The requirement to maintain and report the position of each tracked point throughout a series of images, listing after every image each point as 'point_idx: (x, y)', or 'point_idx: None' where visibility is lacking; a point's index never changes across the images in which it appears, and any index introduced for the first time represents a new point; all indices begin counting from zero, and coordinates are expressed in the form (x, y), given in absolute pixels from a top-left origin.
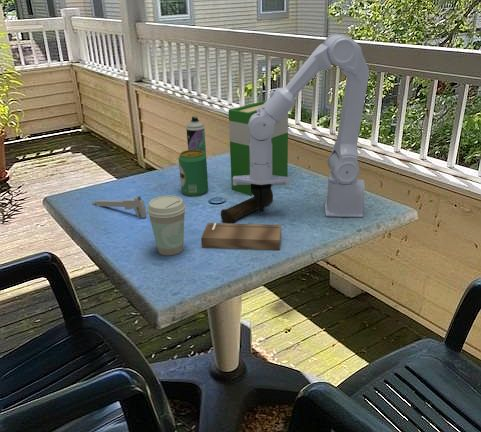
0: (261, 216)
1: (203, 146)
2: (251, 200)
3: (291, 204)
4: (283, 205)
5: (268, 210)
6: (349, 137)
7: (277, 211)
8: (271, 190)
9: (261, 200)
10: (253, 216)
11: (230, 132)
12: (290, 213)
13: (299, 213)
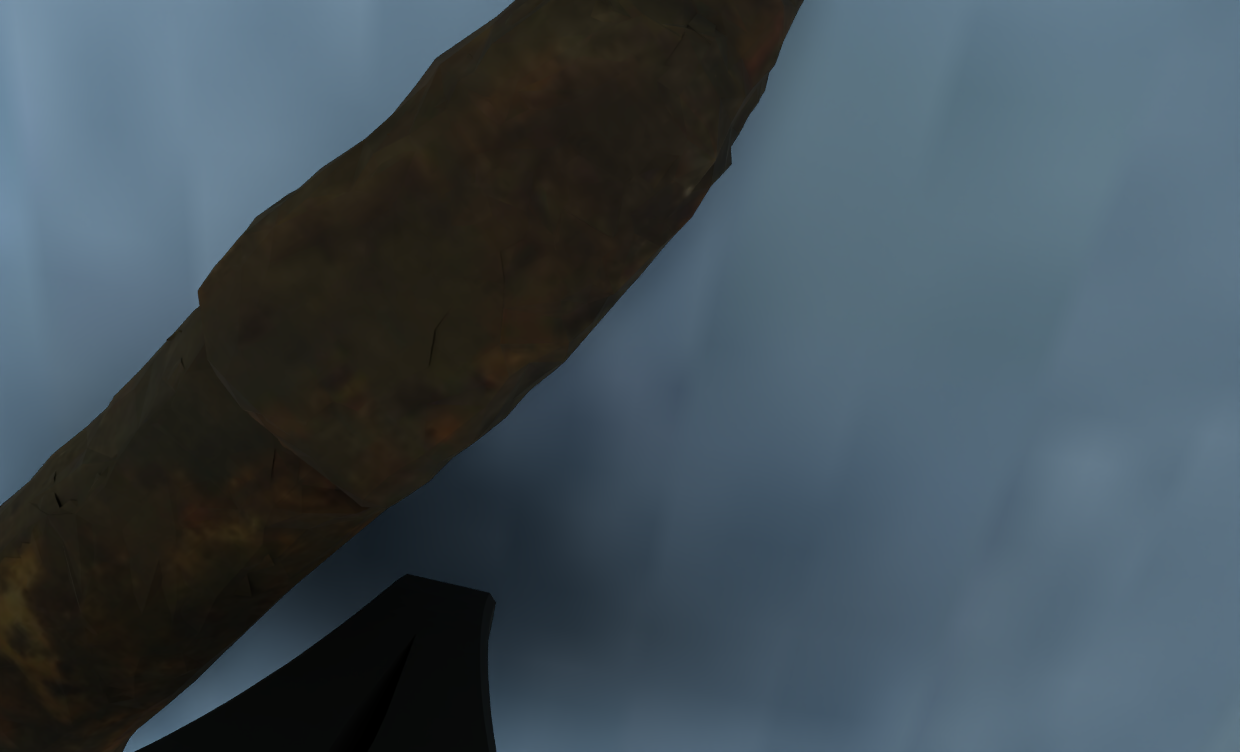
0: None
1: None
2: (124, 645)
3: (1175, 256)
4: (975, 280)
5: (604, 470)
6: None
7: (769, 544)
8: (781, 42)
9: (375, 723)
10: None
11: None
12: (987, 667)
13: (1151, 697)
